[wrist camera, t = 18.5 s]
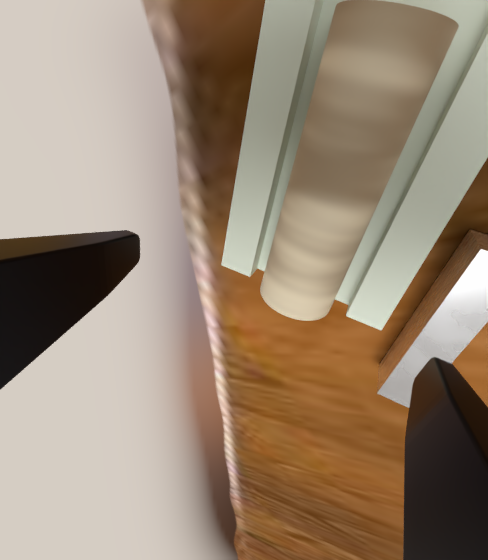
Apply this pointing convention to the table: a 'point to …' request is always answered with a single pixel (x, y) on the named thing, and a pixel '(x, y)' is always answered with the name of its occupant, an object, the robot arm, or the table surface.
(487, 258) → the steel guide
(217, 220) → the table surface
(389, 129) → the maple axle
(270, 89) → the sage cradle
